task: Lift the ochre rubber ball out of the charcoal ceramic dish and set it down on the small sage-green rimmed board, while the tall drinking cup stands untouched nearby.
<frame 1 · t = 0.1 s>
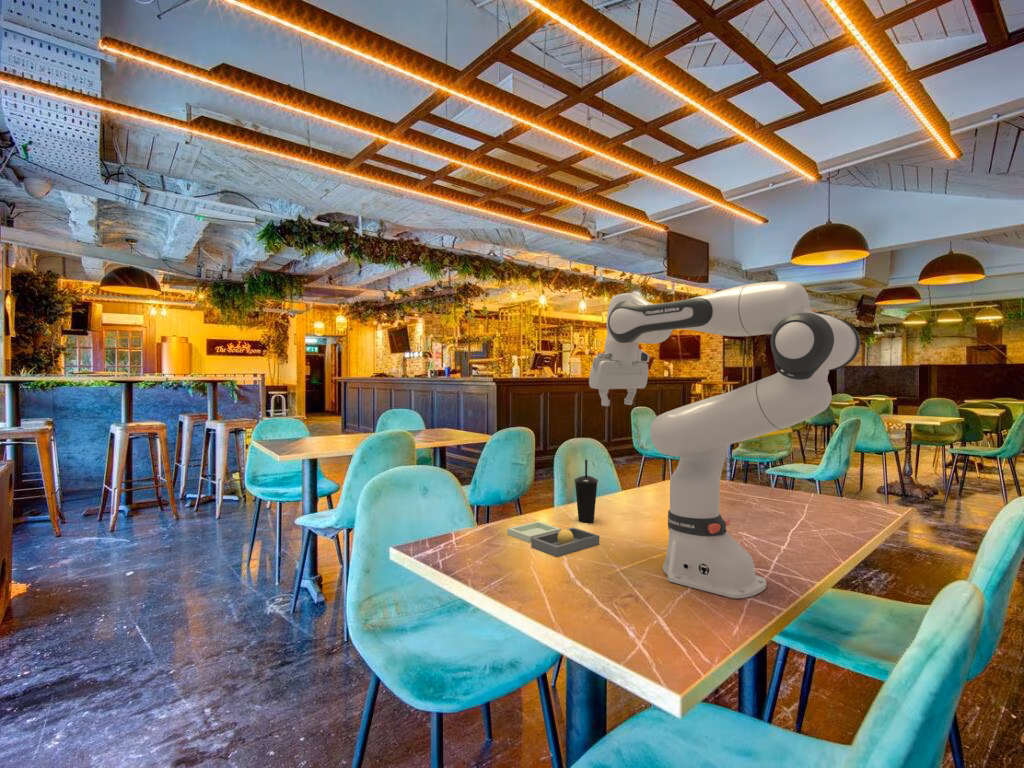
hand: (616, 405, 139), 39 cm above the table, tool pointing down, fingers open, 8 cm apart
drinking cup: (586, 522, 165), on the table
tray: (534, 536, 150), on the table
dish: (565, 547, 139), on the table
ball: (565, 545, 139), point 1 cm above the table, touching dish
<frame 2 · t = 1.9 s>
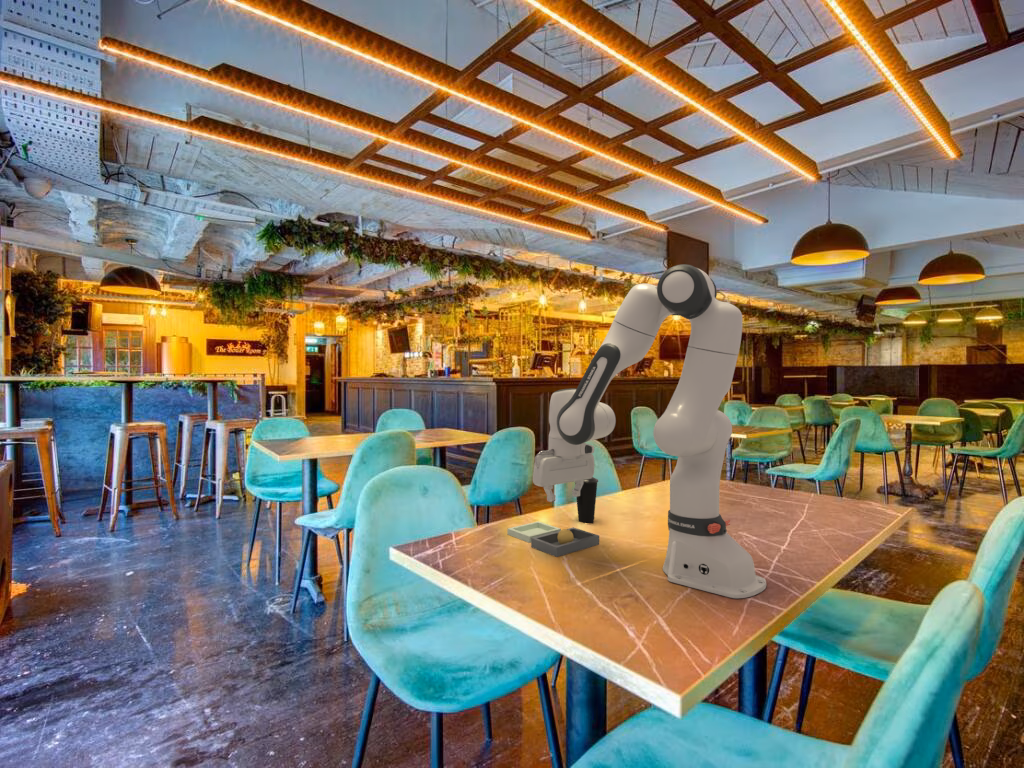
hand: (563, 498, 140), 13 cm above the table, tool pointing down, fingers open, 8 cm apart
nothing on the table moved.
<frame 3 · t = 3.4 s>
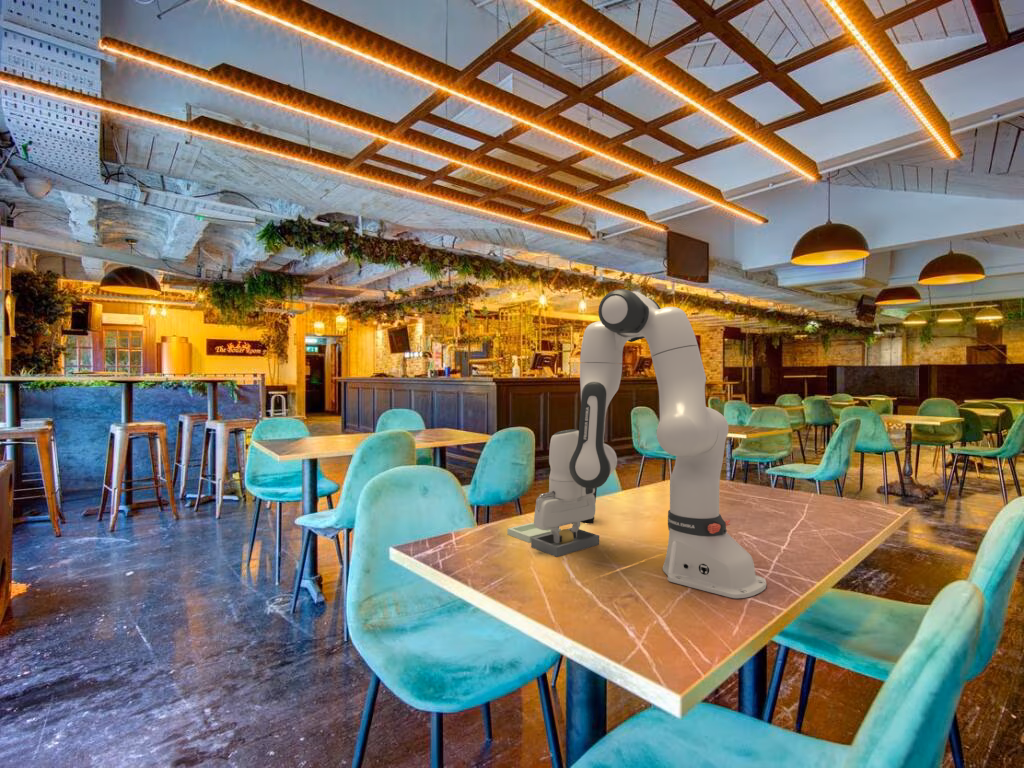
hand: (565, 540, 139), 2 cm above the table, tool pointing down, fingers closed on ball, 4 cm apart
ball: (565, 545, 139), point 1 cm above the table, touching dish, gripper
everything else where it was.
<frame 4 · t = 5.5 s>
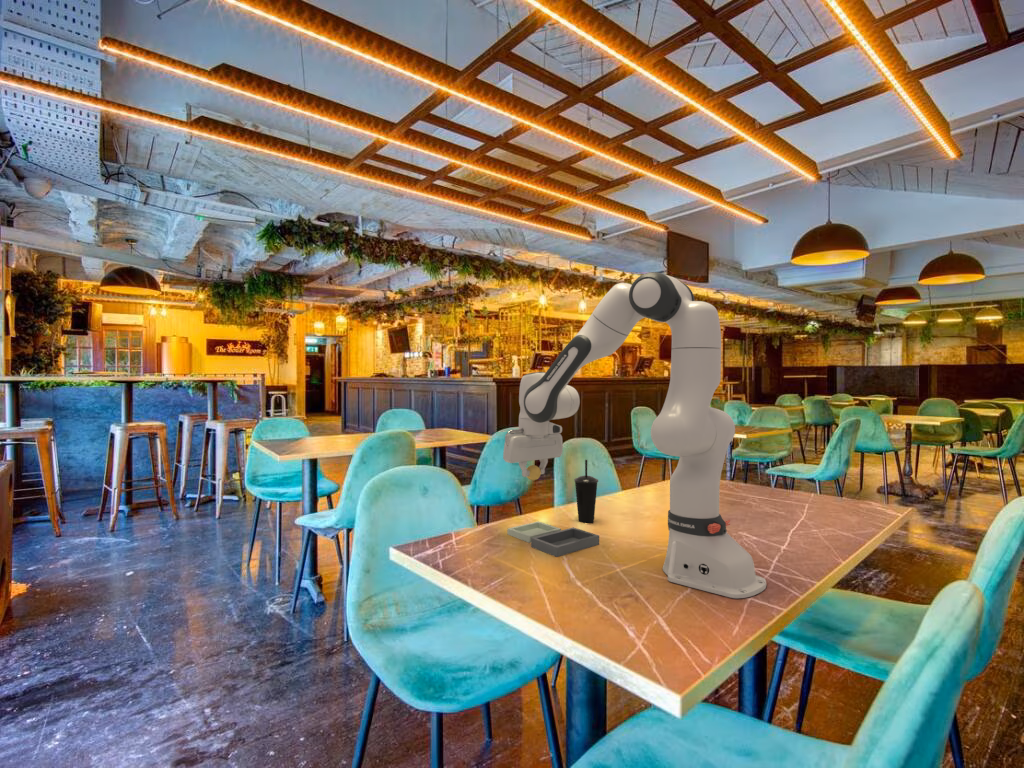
hand: (533, 475, 150), 18 cm above the table, tool pointing down, fingers closed on ball, 4 cm apart
ball: (533, 480, 150), point 16 cm above the table, touching gripper
everything else where it was.
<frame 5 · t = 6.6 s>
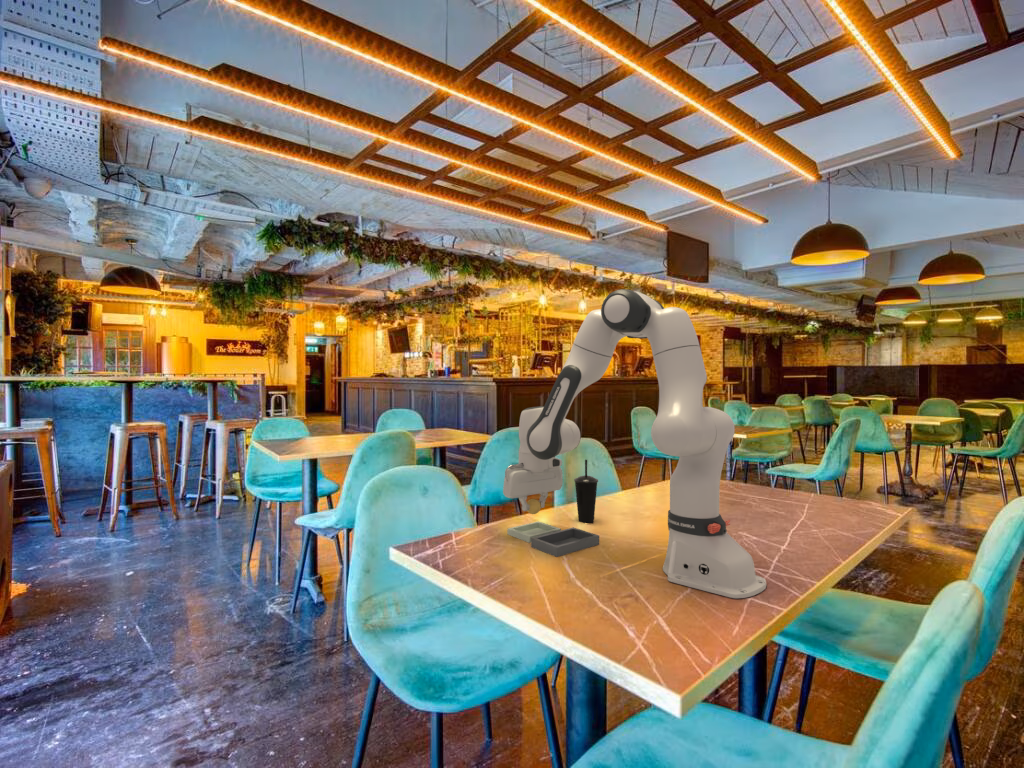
hand: (533, 508, 150), 8 cm above the table, tool pointing down, fingers closed on ball, 4 cm apart
ball: (533, 513, 150), point 6 cm above the table, touching gripper
everything else where it was.
when the fingers open (4 cm above the table, at t = 7.4 s): ball drops 1 cm, resting on tray.
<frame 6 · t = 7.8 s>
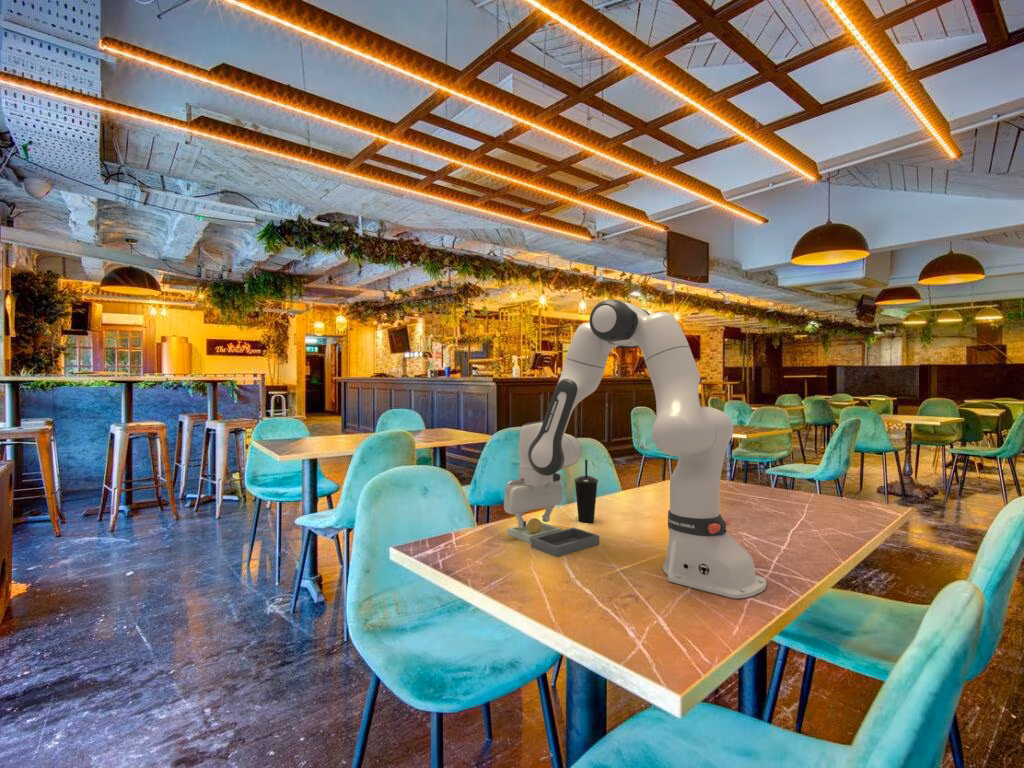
hand: (534, 524, 150), 4 cm above the table, tool pointing down, fingers open, 8 cm apart
ball: (534, 533, 150), point 1 cm above the table, tilted 7°, touching tray
everything else where it was.
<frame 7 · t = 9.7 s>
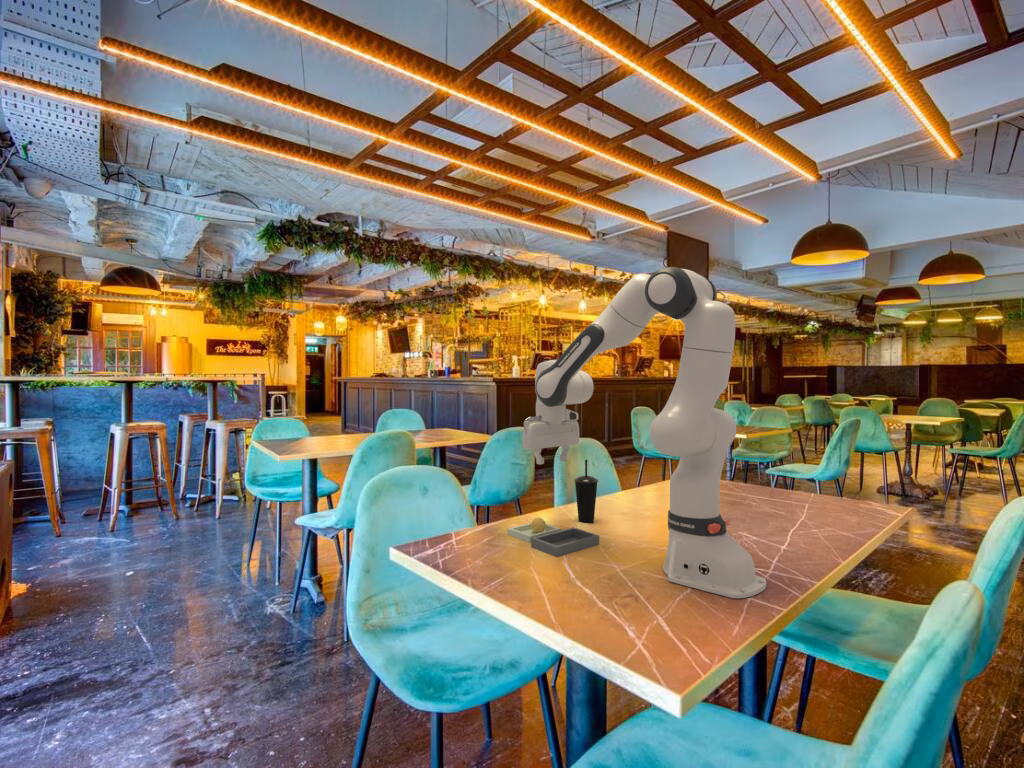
hand: (552, 462, 151), 21 cm above the table, tool pointing down, fingers open, 8 cm apart
ball: (534, 531, 150), point 1 cm above the table, tilted 42°, touching tray
everything else where it was.
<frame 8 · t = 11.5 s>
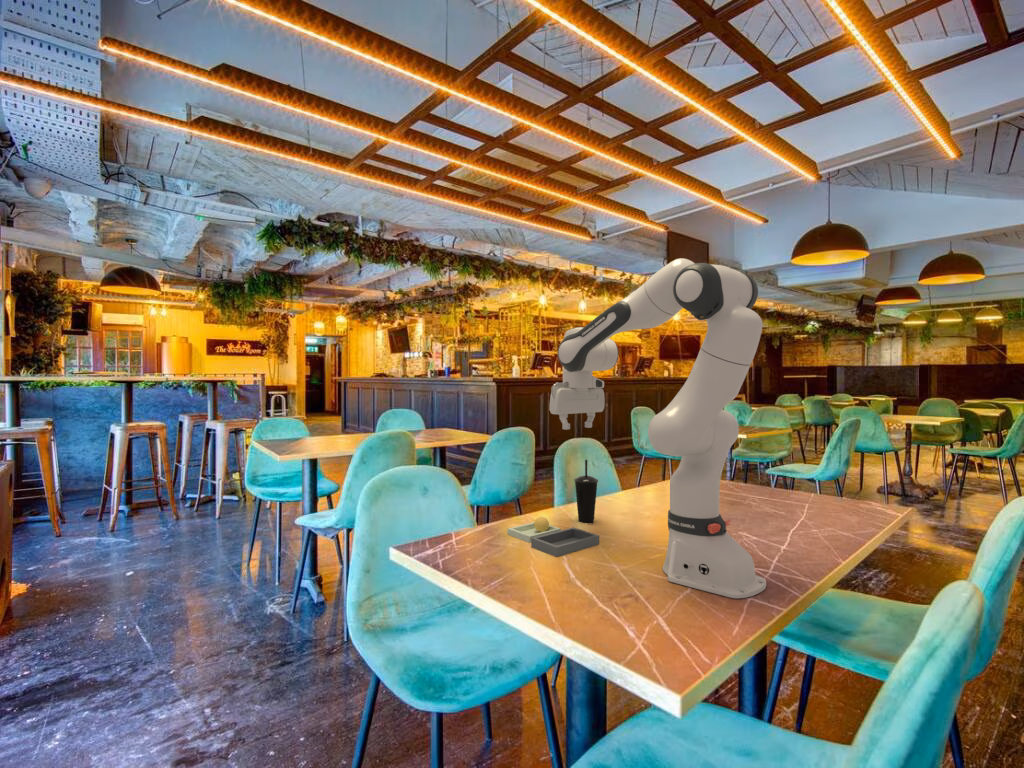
hand: (577, 428, 154), 31 cm above the table, tool pointing down, fingers open, 8 cm apart
ball: (536, 527, 150), point 2 cm above the table, tilted 76°, touching tray
everything else where it was.
at the end: ball inside the target area on the tray (0.8 cm from its centre), point 2.5 cm above the tray's base; the gripper is holding nothing; ball touching tray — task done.
